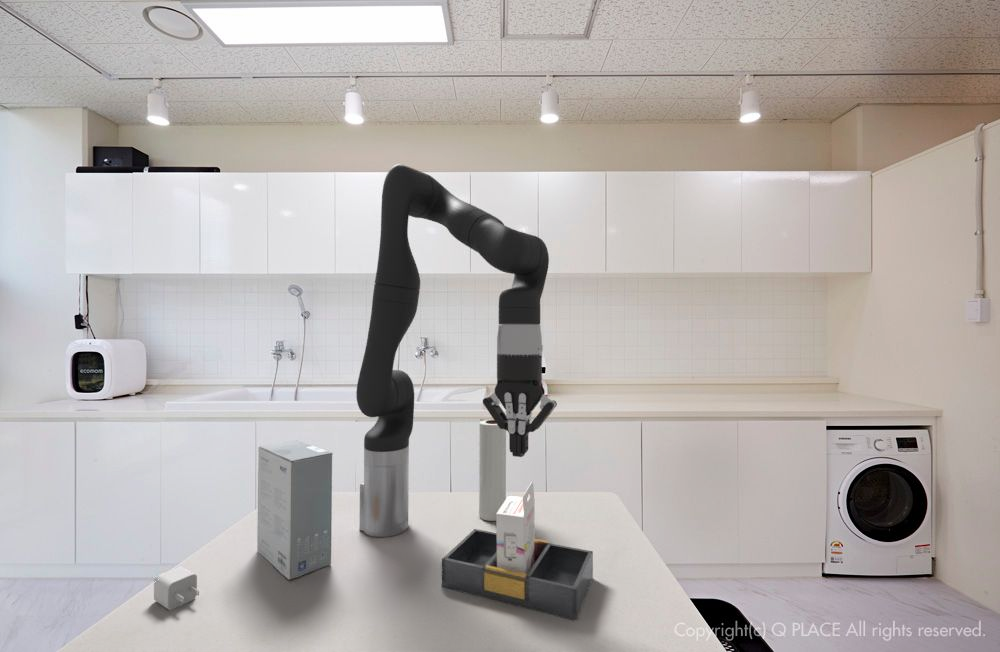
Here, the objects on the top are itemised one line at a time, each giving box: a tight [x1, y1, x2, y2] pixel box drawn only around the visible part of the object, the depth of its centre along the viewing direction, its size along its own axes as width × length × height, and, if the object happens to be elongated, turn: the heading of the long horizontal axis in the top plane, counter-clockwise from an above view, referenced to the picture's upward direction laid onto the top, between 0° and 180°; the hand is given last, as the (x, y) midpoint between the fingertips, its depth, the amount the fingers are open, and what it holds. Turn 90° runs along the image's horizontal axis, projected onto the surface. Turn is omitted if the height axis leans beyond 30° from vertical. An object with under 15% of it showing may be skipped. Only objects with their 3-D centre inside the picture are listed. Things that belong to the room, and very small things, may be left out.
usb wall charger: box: [153, 566, 200, 611], centre depth 69 cm, size 4×7×4 cm, turn 59°
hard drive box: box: [256, 439, 333, 581], centre depth 83 cm, size 16×8×20 cm, turn 47°
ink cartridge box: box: [495, 481, 536, 574], centre depth 75 cm, size 9×5×15 cm, turn 166°
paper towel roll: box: [478, 418, 507, 522], centre depth 102 cm, size 7×6×21 cm
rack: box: [441, 528, 594, 621], centre depth 75 cm, size 22×13×5 cm, turn 67°
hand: (519, 455), depth 75 cm, fingers closed
